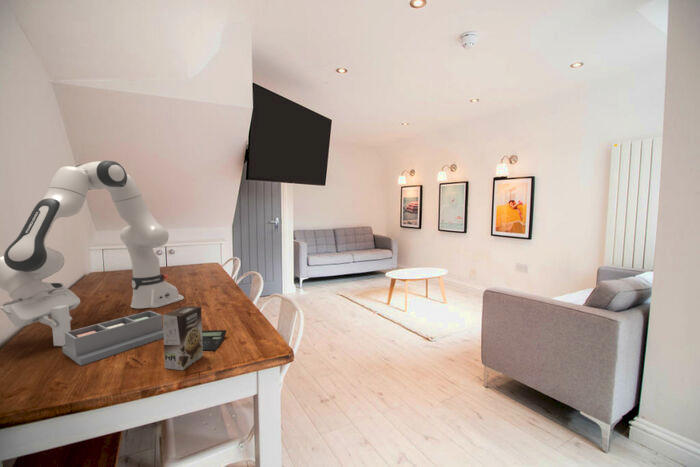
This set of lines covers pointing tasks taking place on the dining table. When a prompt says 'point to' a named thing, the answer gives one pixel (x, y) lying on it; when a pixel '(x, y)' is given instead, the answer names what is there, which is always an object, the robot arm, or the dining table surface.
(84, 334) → the key coral
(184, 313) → the coffee box
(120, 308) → the dining table surface
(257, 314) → the dining table surface
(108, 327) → the key cream
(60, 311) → the light grey bar
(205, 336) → the calculator
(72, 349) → the keypad
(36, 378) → the dining table surface
